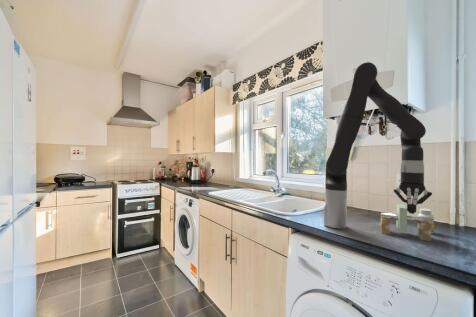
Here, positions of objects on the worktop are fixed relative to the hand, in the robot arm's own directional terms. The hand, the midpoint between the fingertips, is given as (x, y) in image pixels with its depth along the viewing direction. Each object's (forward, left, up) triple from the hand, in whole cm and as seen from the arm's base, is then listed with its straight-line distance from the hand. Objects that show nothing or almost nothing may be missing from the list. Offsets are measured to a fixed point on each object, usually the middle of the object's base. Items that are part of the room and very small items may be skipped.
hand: (411, 213), depth 88 cm
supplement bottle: (+7, +11, -10) cm, 16 cm away
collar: (-3, 0, -7) cm, 8 cm away
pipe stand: (-2, 0, -10) cm, 10 cm away
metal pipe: (-2, 0, -4) cm, 4 cm away
